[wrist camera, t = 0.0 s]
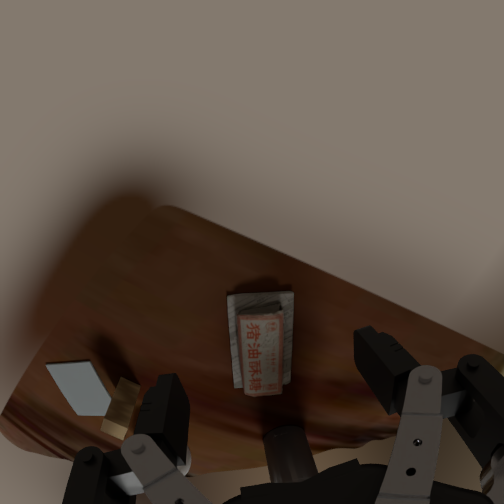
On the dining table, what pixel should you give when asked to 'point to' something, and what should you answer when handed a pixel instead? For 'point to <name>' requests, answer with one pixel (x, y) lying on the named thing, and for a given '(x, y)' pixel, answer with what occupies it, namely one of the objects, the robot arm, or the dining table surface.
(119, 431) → the oak block
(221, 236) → the dining table surface
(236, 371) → the packaged product
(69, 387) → the felt mat
